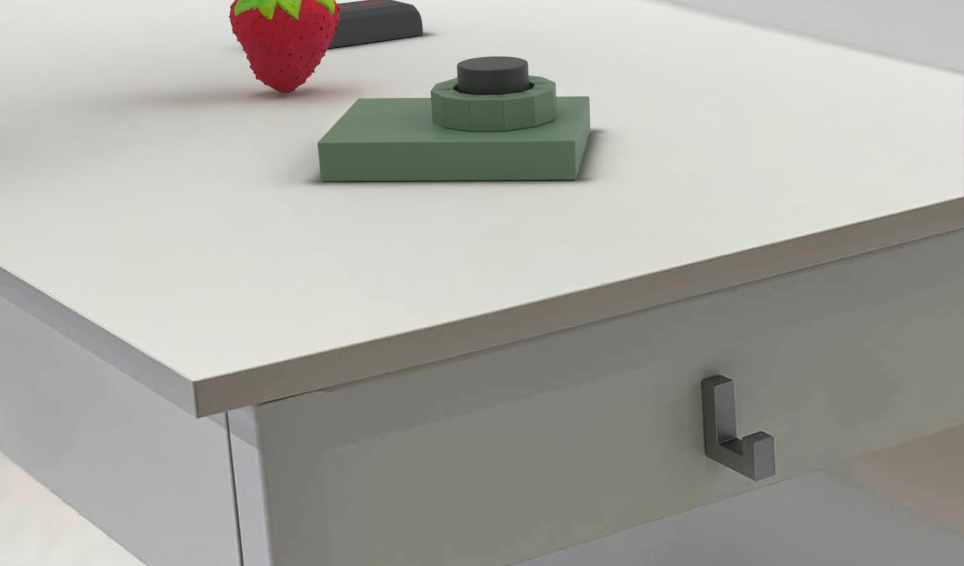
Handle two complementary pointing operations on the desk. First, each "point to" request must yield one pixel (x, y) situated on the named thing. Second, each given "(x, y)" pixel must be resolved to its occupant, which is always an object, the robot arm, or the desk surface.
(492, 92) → the button
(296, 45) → the strawberry
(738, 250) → the desk surface
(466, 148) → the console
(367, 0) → the usb drive
